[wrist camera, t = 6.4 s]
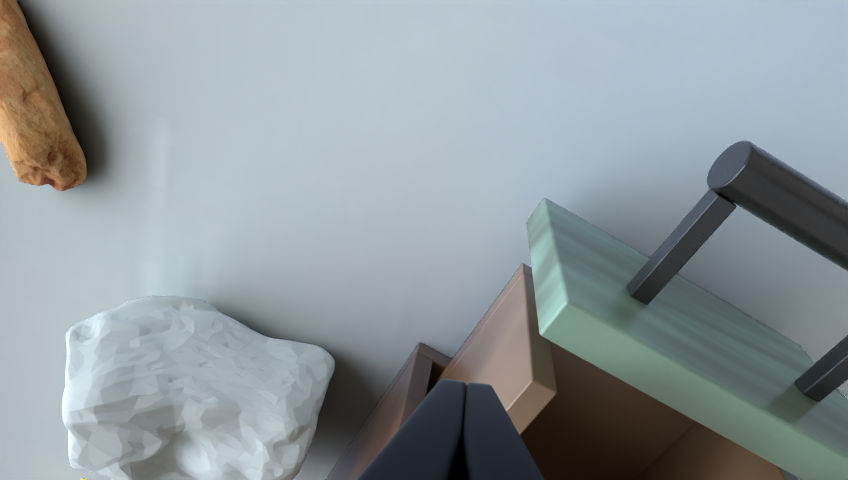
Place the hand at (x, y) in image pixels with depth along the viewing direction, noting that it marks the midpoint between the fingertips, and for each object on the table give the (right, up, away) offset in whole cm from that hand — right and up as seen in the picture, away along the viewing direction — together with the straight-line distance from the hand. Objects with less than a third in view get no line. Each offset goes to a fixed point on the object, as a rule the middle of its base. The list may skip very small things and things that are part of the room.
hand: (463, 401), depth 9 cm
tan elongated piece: (-16, +9, +12) cm, 22 cm away
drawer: (+7, -2, +12) cm, 14 cm away
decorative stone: (-10, -4, +17) cm, 20 cm away
